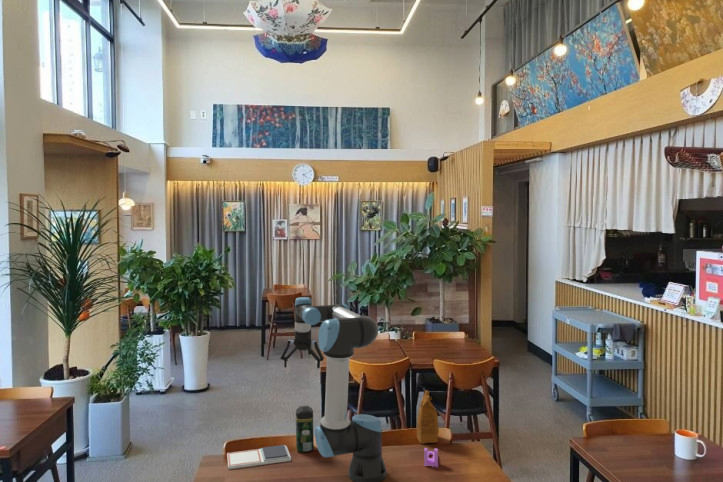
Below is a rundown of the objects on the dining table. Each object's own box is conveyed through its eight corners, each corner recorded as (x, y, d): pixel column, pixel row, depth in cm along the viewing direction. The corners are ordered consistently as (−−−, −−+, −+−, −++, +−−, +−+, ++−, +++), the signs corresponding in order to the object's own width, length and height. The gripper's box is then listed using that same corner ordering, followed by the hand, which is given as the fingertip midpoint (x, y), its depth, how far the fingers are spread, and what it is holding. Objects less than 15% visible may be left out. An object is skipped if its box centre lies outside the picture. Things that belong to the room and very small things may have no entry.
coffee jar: (295, 445, 232) (295, 404, 232) (312, 443, 234) (312, 403, 234) (296, 453, 223) (296, 411, 223) (314, 452, 224) (313, 410, 224)
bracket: (437, 467, 208) (437, 450, 208) (424, 467, 209) (424, 450, 209) (437, 454, 221) (436, 438, 221) (424, 453, 222) (424, 438, 222)
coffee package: (437, 434, 243) (436, 389, 243) (439, 445, 231) (438, 397, 231) (416, 434, 244) (415, 389, 244) (417, 444, 231) (417, 396, 231)
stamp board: (291, 460, 215) (291, 457, 215) (228, 469, 208) (228, 466, 208) (286, 448, 229) (286, 445, 229) (227, 455, 221) (227, 452, 221)
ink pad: (289, 457, 216) (289, 455, 216) (263, 461, 212) (263, 458, 212) (285, 446, 228) (285, 444, 228) (260, 449, 225) (260, 447, 225)
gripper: (329, 329, 240) (329, 372, 242) (277, 327, 240) (277, 371, 242) (328, 333, 233) (327, 378, 234) (274, 331, 233) (274, 376, 235)
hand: (302, 374), depth 238 cm, fingers open, 13 cm apart
